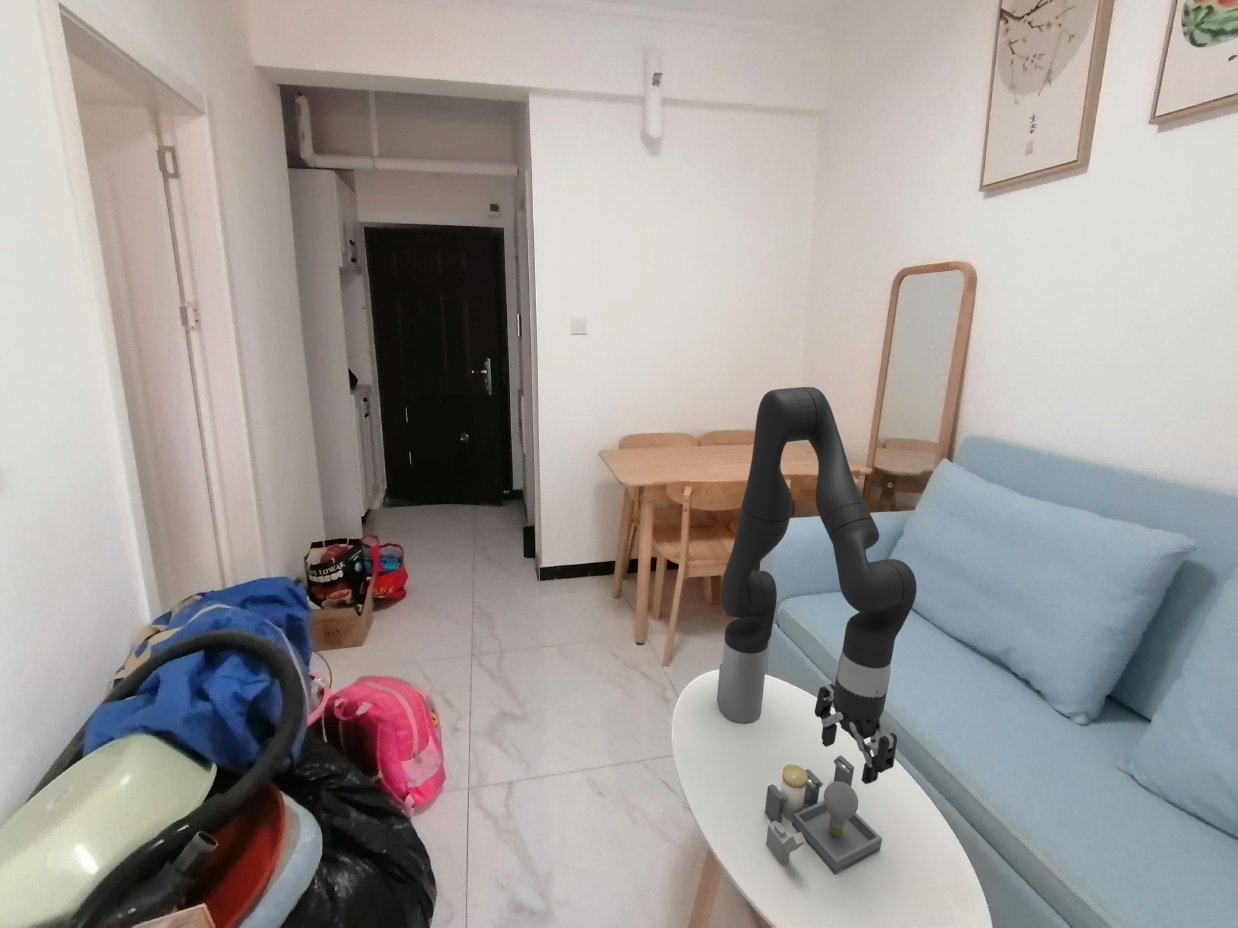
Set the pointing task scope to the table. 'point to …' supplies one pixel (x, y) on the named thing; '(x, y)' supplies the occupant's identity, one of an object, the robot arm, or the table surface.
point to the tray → (836, 837)
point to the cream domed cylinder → (793, 789)
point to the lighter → (782, 841)
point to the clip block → (806, 789)
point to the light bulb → (840, 805)
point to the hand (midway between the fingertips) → (847, 761)
